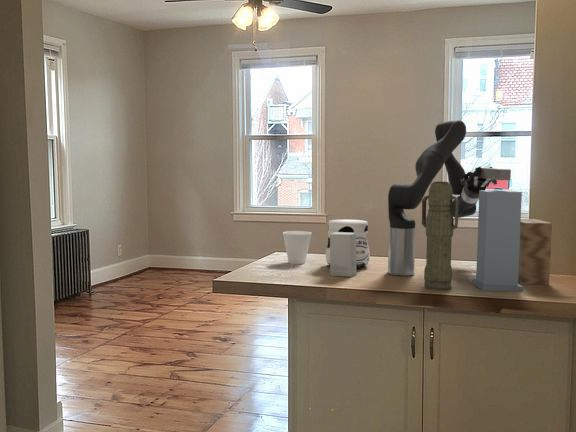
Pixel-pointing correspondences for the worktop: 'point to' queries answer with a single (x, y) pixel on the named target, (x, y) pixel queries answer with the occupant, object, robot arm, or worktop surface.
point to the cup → (297, 245)
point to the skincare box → (343, 254)
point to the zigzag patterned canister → (534, 251)
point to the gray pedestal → (498, 241)
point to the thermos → (439, 235)
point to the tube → (495, 173)
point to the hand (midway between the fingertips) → (485, 168)
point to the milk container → (361, 238)
